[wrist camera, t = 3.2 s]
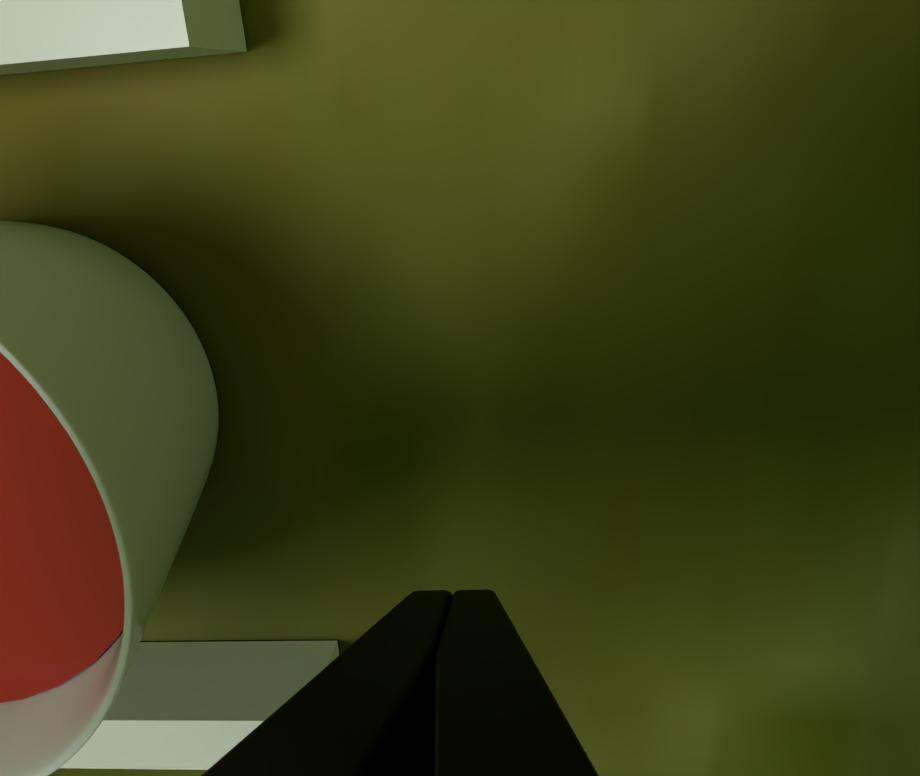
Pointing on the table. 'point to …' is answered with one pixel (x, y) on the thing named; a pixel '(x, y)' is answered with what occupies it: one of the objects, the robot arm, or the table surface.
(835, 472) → the table surface
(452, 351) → the table surface
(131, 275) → the candle
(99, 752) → the trap box
